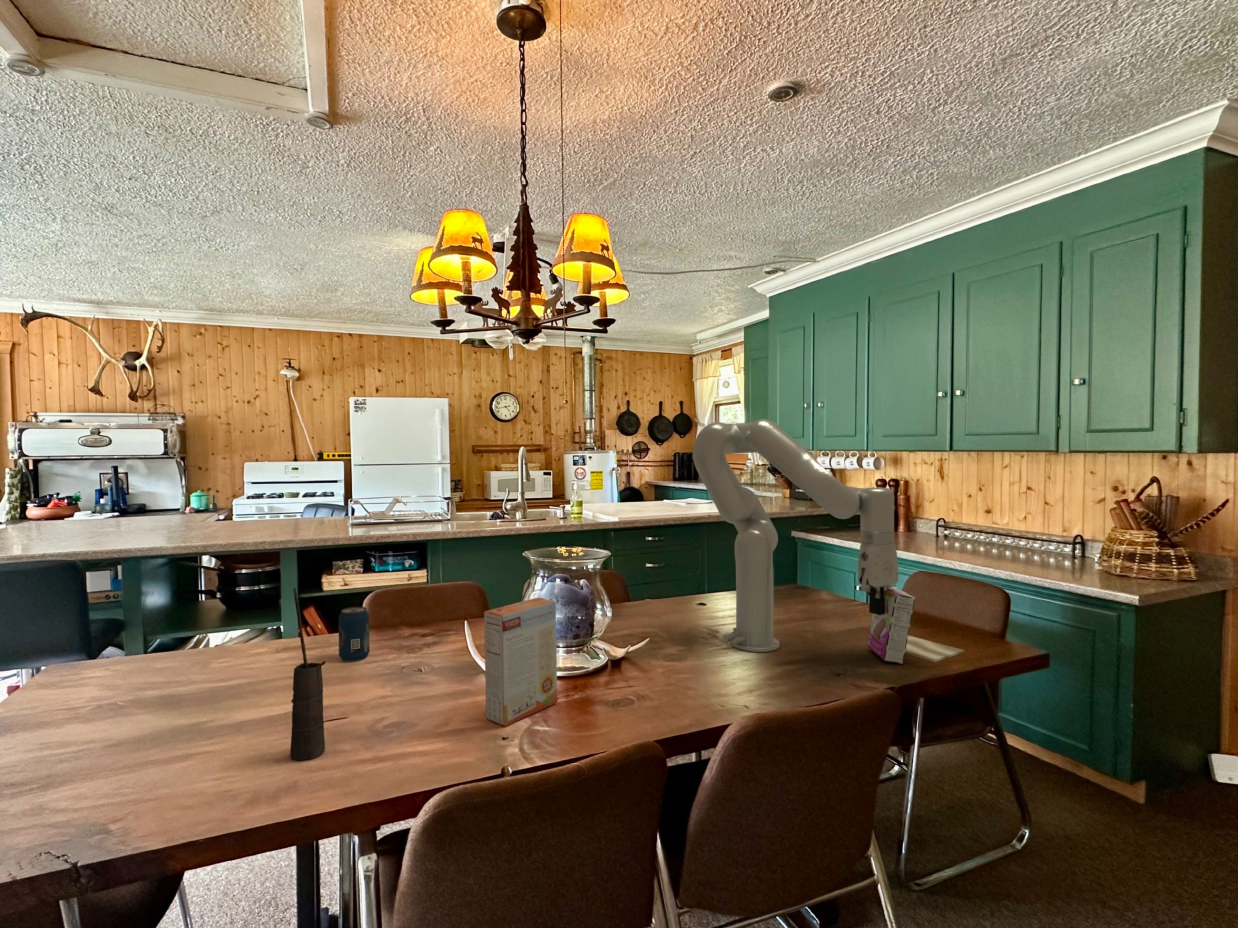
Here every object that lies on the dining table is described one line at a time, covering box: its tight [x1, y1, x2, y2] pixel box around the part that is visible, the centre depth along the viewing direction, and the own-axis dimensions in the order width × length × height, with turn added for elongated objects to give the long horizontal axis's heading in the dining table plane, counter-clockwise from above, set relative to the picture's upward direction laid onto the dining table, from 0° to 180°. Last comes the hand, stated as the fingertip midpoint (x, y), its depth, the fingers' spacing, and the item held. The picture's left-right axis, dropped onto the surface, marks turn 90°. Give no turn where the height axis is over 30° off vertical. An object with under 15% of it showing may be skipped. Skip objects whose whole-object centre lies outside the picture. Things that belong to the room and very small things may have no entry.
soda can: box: [338, 606, 371, 663], centre depth 151 cm, size 7×7×12 cm
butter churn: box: [289, 587, 327, 761], centre depth 103 cm, size 9×10×28 cm
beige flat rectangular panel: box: [905, 635, 965, 663], centre depth 159 cm, size 13×18×1 cm
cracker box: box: [483, 597, 558, 727], centre depth 120 cm, size 14×6×21 cm, turn 141°
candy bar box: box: [866, 586, 916, 665], centre depth 151 cm, size 11×5×16 cm, turn 179°
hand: (877, 613), depth 150 cm, fingers closed
